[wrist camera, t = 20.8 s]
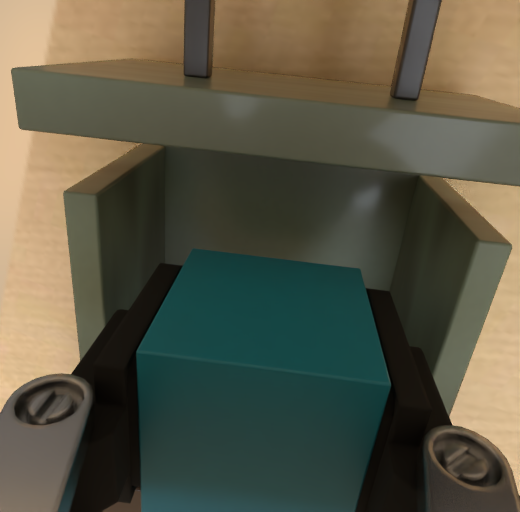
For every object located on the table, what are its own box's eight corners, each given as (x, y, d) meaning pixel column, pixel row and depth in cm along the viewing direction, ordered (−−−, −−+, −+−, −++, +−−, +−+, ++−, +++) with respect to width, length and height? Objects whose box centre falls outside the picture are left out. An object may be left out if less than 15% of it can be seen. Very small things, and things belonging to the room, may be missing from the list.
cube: (191, 247, 11) (135, 351, 7) (361, 267, 10) (392, 384, 7) (188, 379, 12) (140, 517, 9) (332, 398, 12) (346, 547, 8)
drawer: (123, -165, 12) (-53, -371, 6) (540, -129, 12) (789, -312, 6) (139, 374, 21) (71, 513, 15) (386, 408, 20) (421, 565, 14)
